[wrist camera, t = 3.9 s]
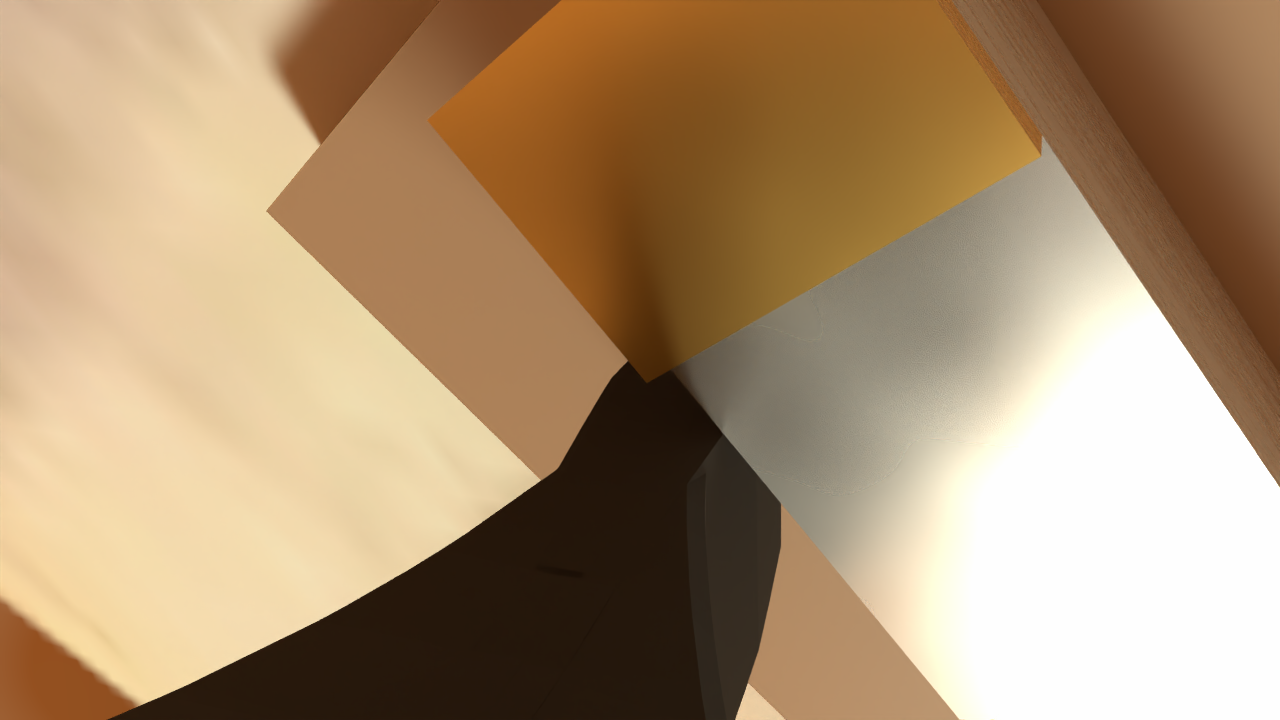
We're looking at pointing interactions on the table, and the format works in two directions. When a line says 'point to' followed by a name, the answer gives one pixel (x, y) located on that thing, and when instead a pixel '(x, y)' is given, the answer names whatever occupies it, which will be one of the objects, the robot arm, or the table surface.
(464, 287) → the door board
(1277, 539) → the lock bar
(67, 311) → the table surface
